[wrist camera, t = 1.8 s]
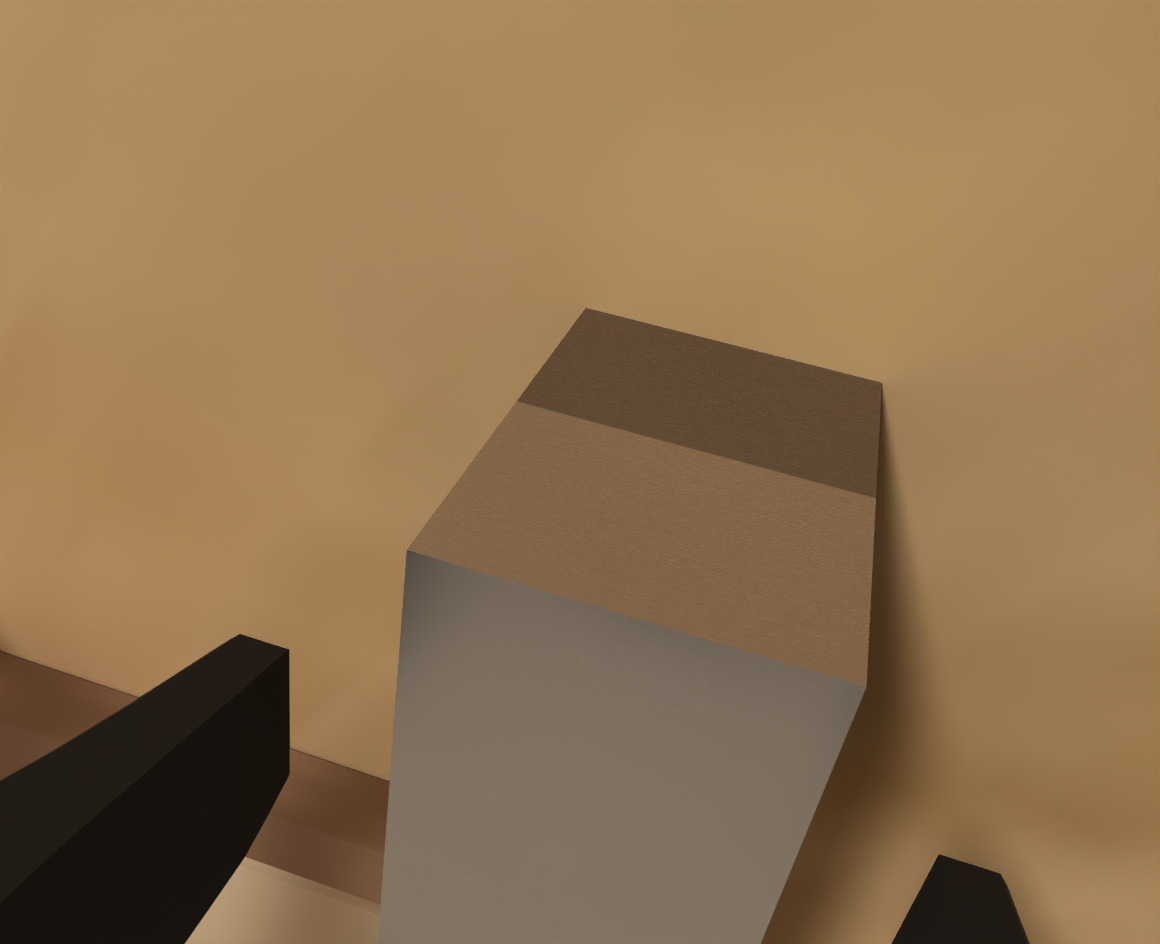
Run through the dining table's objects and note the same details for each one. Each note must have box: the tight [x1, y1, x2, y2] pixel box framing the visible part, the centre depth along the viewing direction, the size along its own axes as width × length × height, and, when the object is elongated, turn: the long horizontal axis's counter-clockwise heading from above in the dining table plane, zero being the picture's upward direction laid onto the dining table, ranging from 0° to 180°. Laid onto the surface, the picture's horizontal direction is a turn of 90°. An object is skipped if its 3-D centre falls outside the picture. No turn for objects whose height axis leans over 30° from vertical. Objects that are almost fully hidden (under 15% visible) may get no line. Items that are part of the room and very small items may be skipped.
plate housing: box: [378, 308, 882, 944], centre depth 13 cm, size 4×7×6 cm, turn 171°
